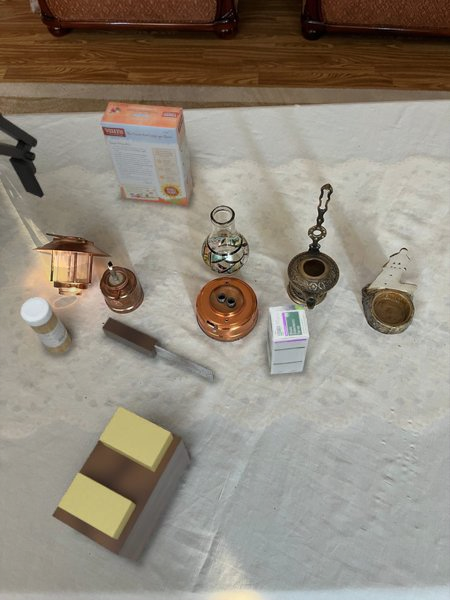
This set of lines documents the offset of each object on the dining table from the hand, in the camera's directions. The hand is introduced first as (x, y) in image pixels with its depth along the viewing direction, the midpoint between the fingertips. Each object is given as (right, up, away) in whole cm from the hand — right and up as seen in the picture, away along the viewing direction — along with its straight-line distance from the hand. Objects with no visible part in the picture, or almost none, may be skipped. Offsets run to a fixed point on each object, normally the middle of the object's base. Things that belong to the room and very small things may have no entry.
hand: (5, 226), depth 74 cm
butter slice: (+15, -37, -7) cm, 40 cm away
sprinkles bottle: (+1, -18, +20) cm, 28 cm away
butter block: (+19, -29, -3) cm, 35 cm away
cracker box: (+17, +12, +37) cm, 43 cm away
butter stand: (+17, -40, +7) cm, 44 cm away
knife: (+19, -20, +18) cm, 34 cm away
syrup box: (+41, -21, +18) cm, 49 cm away
